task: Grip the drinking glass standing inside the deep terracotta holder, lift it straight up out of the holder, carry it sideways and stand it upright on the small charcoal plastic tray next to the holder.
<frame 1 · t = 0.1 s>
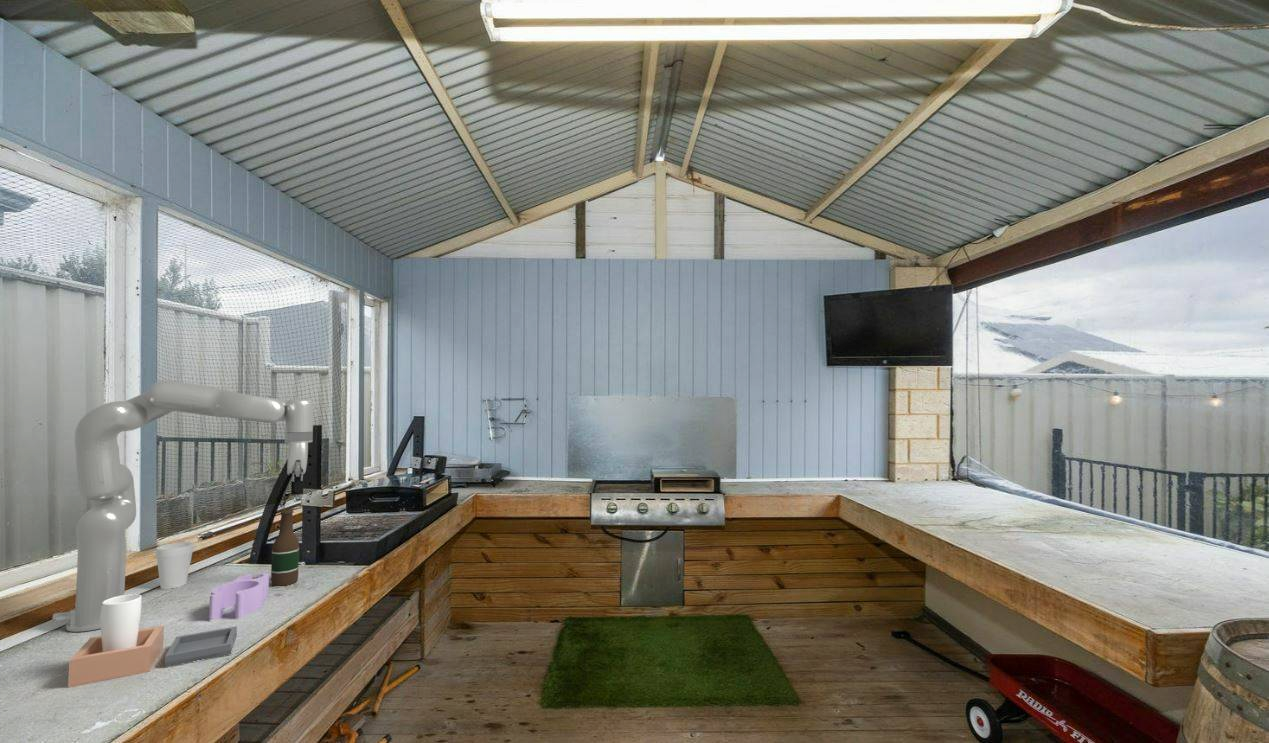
hand: (297, 492, 173), 31 cm above the outdoor kitchen counter, tool pointing down, fingers open, 9 cm apart
beer bottle: (284, 584, 180), on the outdoor kitchen counter
terracotta holder: (118, 666, 123), on the outdoor kitchen counter
foam cup: (173, 586, 178), on the outdoor kitchen counter
clip: (241, 608, 159), on the outdoor kitchen counter
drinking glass: (118, 667, 123), resting in terracotta holder
charcoal tray: (202, 651, 131), on the outdoor kitchen counter
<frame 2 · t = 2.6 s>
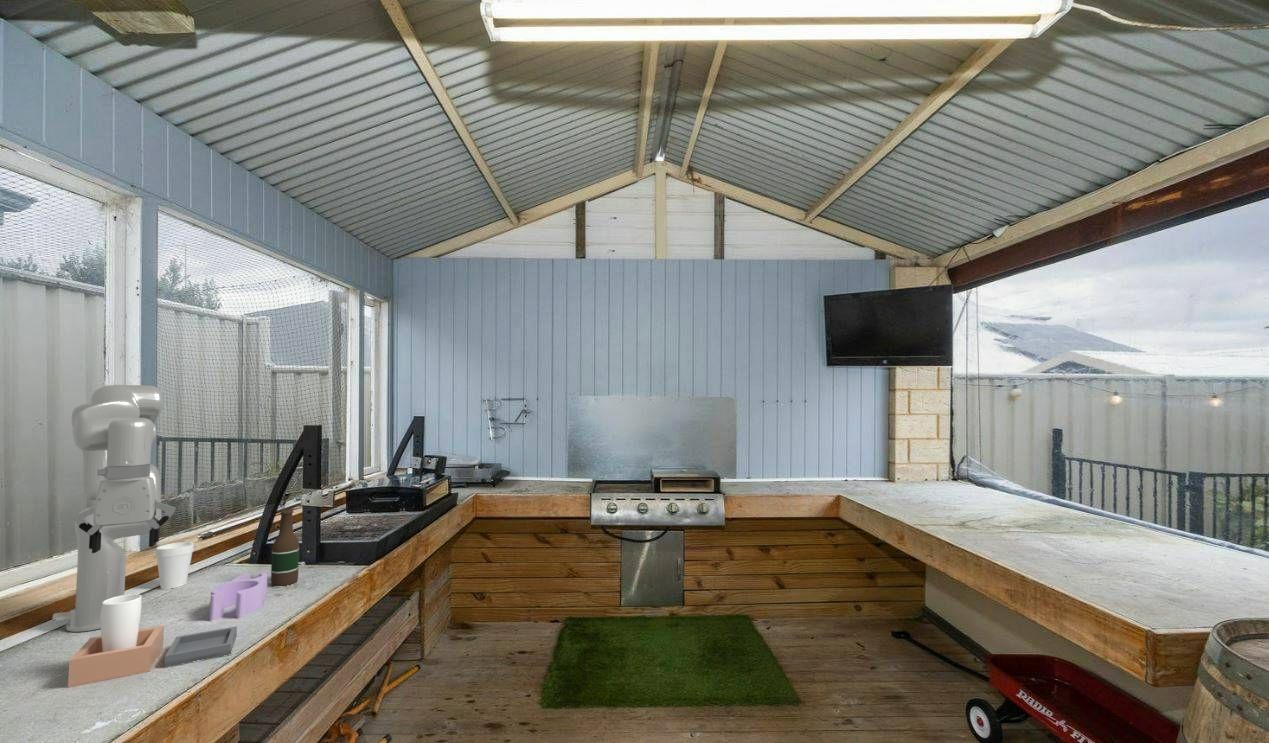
hand: (124, 548, 125), 26 cm above the outdoor kitchen counter, tool pointing down, fingers open, 9 cm apart
nothing on the outdoor kitchen counter moved.
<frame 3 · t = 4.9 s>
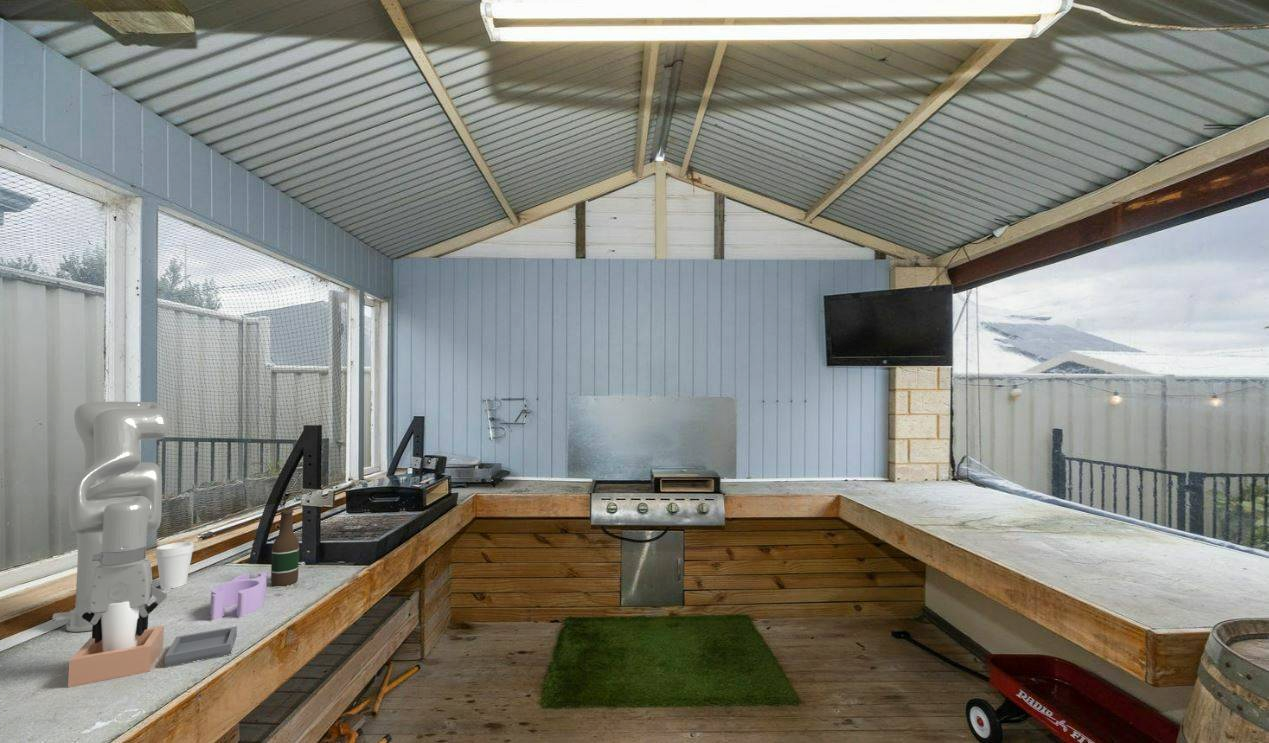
hand: (120, 636, 124), 7 cm above the outdoor kitchen counter, tool pointing down, fingers closed on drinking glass, 6 cm apart
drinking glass: (118, 667, 123), resting in terracotta holder, touching gripper
everything else where it was.
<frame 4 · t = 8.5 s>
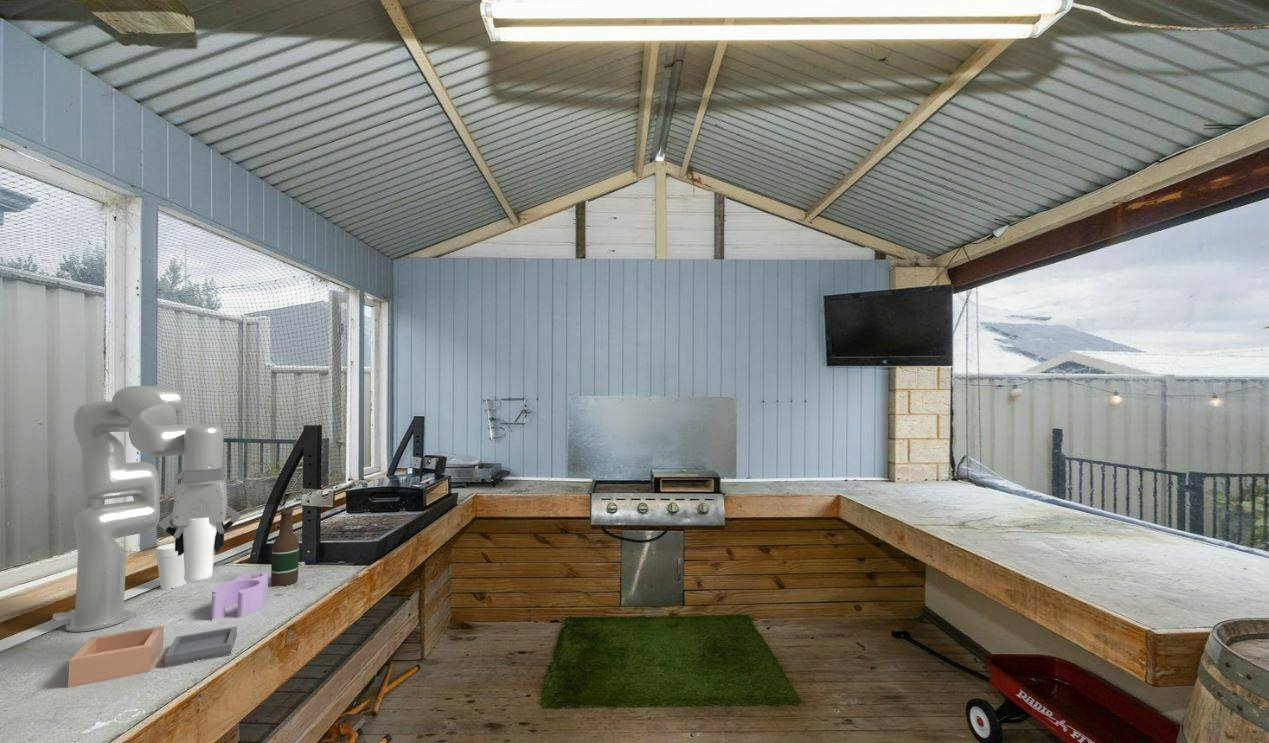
hand: (199, 551, 132), 24 cm above the outdoor kitchen counter, tool pointing down, fingers closed on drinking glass, 6 cm apart
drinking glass: (198, 580, 131), point 17 cm above the outdoor kitchen counter, touching gripper
everything else where it was.
when the fingers open (9 cm above the outdoor kitchen counter, at t = 11.9 s): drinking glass drops 1 cm, resting on charcoal tray.
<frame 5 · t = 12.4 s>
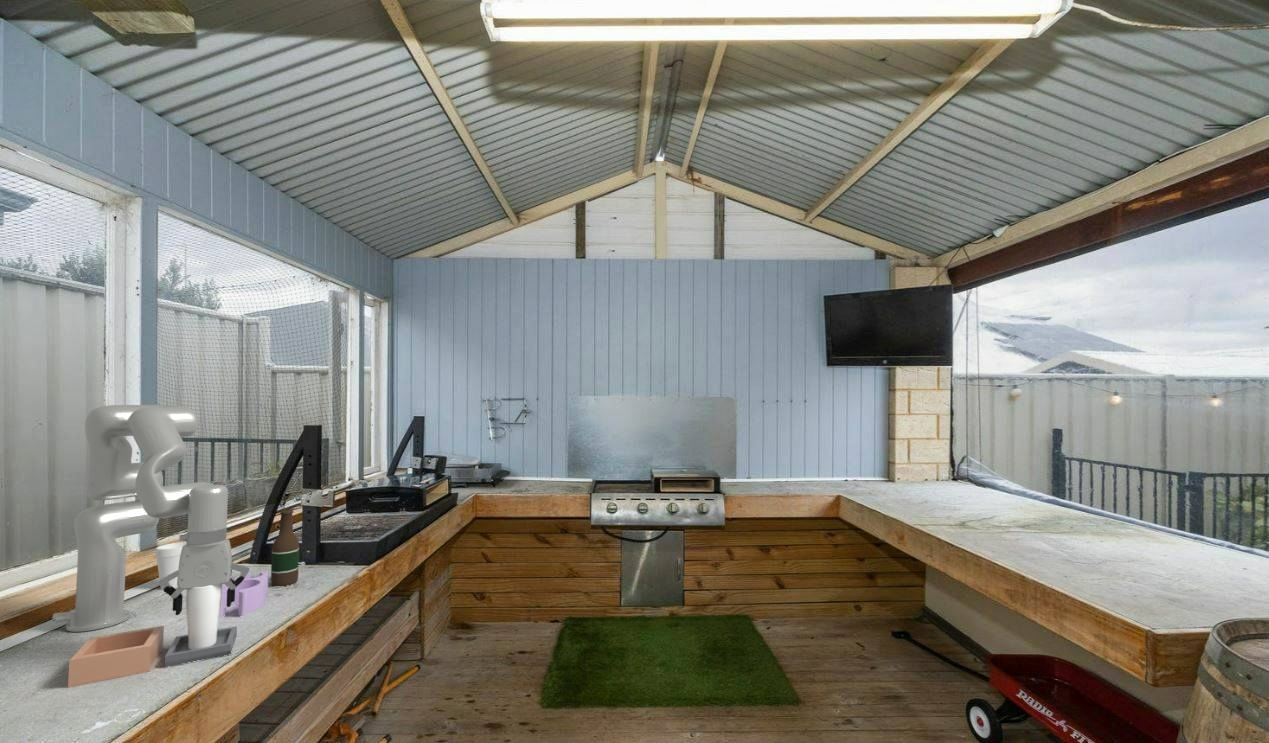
hand: (204, 609, 132), 10 cm above the outdoor kitchen counter, tool pointing down, fingers open, 9 cm apart
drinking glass: (202, 647, 131), point 1 cm above the outdoor kitchen counter, touching charcoal tray
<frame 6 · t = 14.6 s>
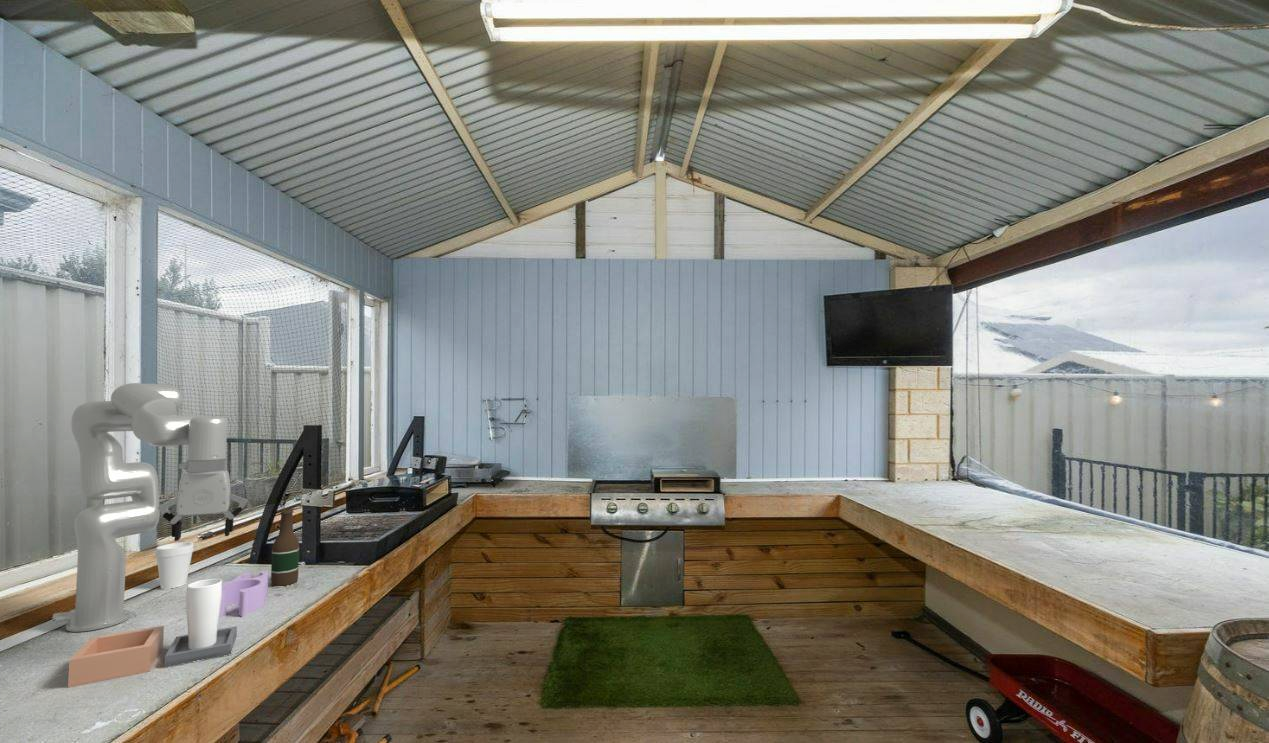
hand: (202, 537, 133), 27 cm above the outdoor kitchen counter, tool pointing down, fingers open, 9 cm apart
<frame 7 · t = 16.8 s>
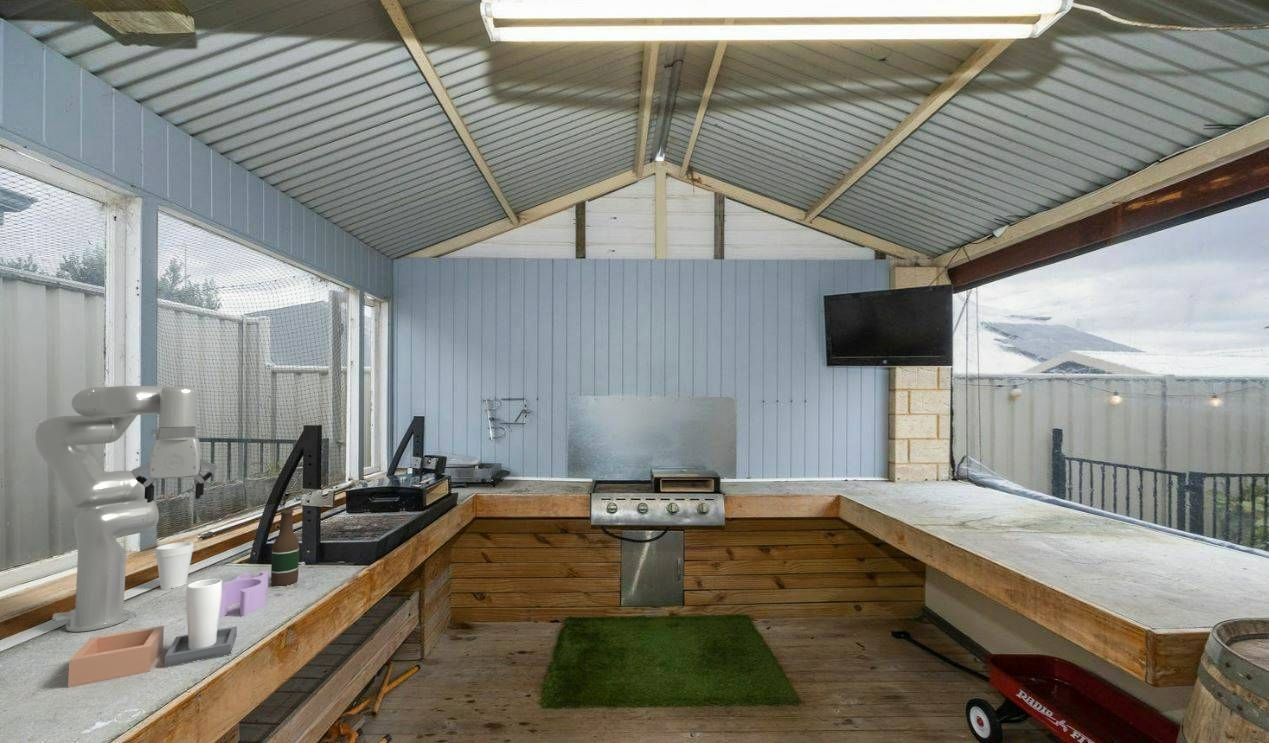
hand: (174, 499, 142), 34 cm above the outdoor kitchen counter, tool pointing down, fingers open, 9 cm apart
at the end: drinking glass 0.1 cm off-centre on the charcoal tray, point 0.8 cm above the charcoal tray's base; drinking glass tilted 0°; the gripper is holding nothing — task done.
